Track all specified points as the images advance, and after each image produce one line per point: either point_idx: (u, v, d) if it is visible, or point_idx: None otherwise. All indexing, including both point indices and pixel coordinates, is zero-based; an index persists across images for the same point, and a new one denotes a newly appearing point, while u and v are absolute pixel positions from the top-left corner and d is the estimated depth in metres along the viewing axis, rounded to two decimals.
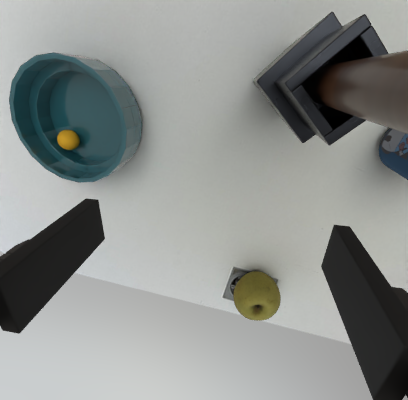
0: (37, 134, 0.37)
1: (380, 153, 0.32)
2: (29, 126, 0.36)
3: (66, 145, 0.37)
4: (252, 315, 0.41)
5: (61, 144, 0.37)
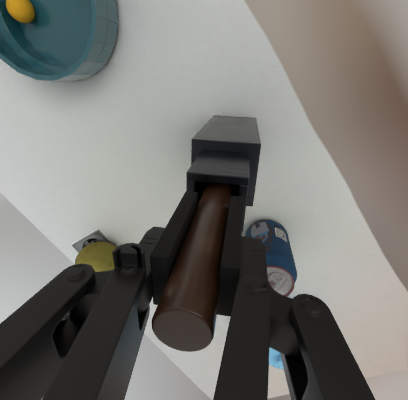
0: None
1: (248, 230, 0.41)
2: None
3: (13, 13, 0.31)
4: None
5: (8, 7, 0.31)
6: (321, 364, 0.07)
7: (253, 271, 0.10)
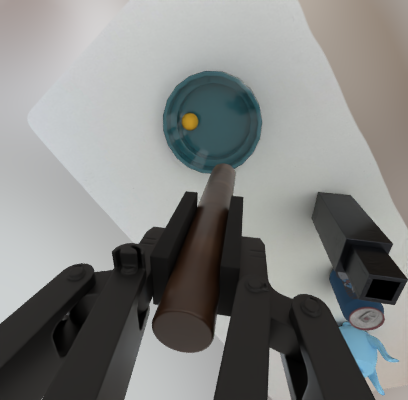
0: (175, 101, 0.43)
1: (333, 272, 0.54)
2: (177, 94, 0.41)
3: (188, 126, 0.44)
4: None
5: (186, 123, 0.44)
6: (321, 364, 0.07)
7: (253, 272, 0.10)
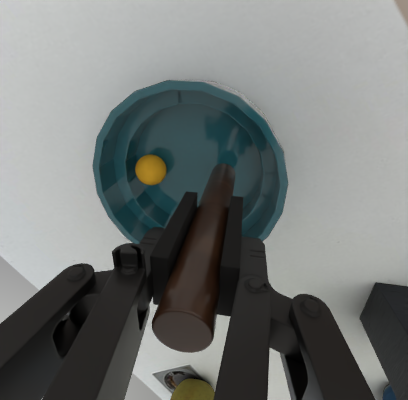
0: (119, 135, 0.22)
1: (392, 396, 0.34)
2: (121, 124, 0.21)
3: (146, 181, 0.24)
4: None
5: (142, 175, 0.23)
6: (321, 364, 0.07)
7: (253, 271, 0.10)
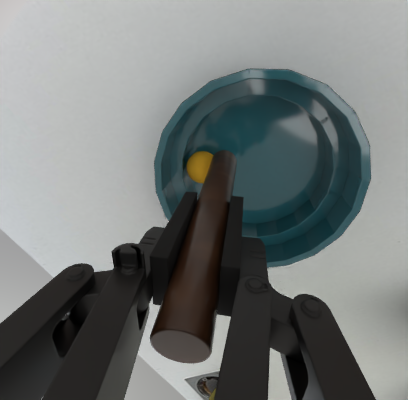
0: (178, 130, 0.21)
1: None
2: (184, 118, 0.20)
3: (195, 179, 0.23)
4: None
5: (191, 172, 0.22)
6: (321, 364, 0.07)
7: (253, 272, 0.10)
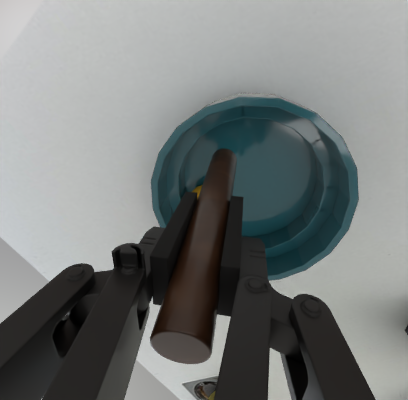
0: (174, 149, 0.22)
1: None
2: (180, 139, 0.21)
3: None
4: None
5: None
6: (321, 364, 0.07)
7: (253, 271, 0.10)
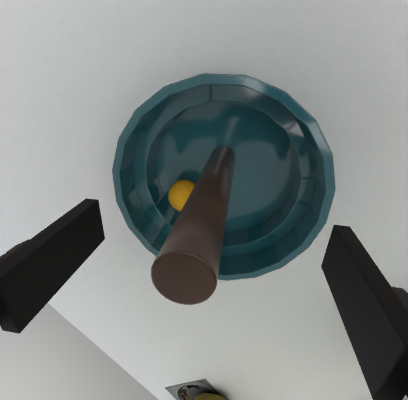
0: (140, 137, 0.20)
1: None
2: (144, 124, 0.19)
3: None
4: None
5: None
6: None
7: None
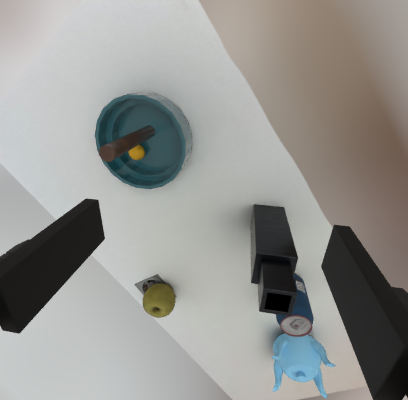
0: (108, 120, 0.45)
1: None
2: (109, 114, 0.44)
3: None
4: (149, 311, 0.59)
5: None
6: None
7: None
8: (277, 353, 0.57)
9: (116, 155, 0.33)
